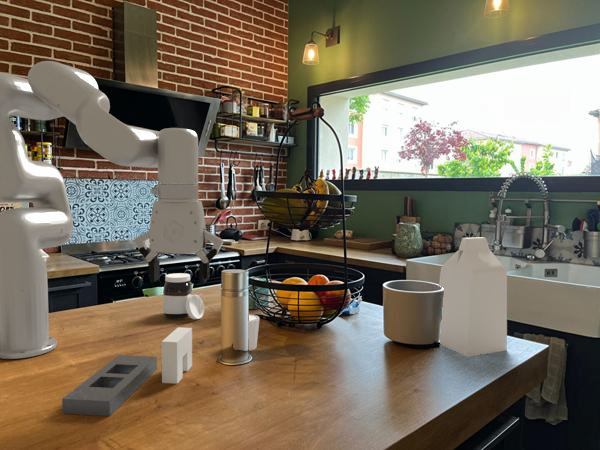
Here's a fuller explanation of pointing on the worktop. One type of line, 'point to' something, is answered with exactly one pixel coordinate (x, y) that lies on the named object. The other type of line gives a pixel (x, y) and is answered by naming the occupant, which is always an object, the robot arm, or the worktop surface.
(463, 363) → the worktop surface
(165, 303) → the spread jar
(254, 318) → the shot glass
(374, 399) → the worktop surface
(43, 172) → the robot arm
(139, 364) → the grey slotted base
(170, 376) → the clip
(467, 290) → the milk
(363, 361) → the worktop surface
